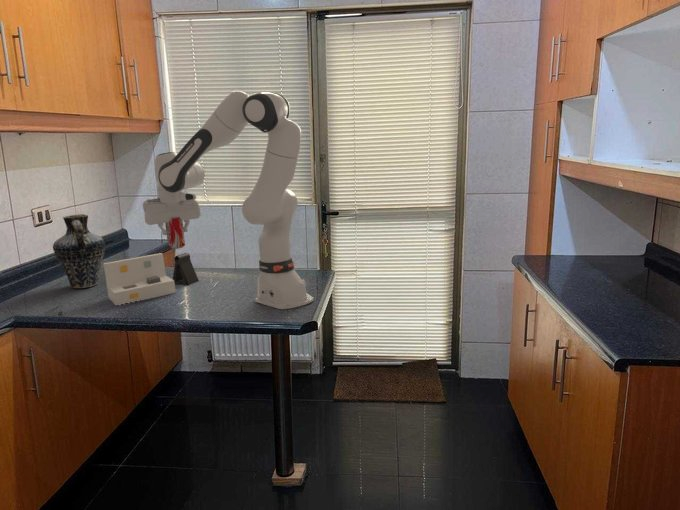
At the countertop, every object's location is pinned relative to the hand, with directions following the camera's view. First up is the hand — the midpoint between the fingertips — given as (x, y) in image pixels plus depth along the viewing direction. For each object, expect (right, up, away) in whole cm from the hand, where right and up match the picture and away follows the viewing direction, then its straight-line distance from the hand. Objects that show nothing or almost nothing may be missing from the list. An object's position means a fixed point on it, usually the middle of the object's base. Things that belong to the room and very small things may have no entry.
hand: (175, 233), depth 194 cm
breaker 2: (-10, -21, +5) cm, 24 cm away
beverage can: (0, -6, +1) cm, 6 cm away
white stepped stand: (-14, -24, +5) cm, 28 cm away
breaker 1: (-17, -25, +1) cm, 30 cm away
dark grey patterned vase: (-45, -21, +23) cm, 54 cm away
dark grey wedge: (-2, -20, +20) cm, 28 cm away
